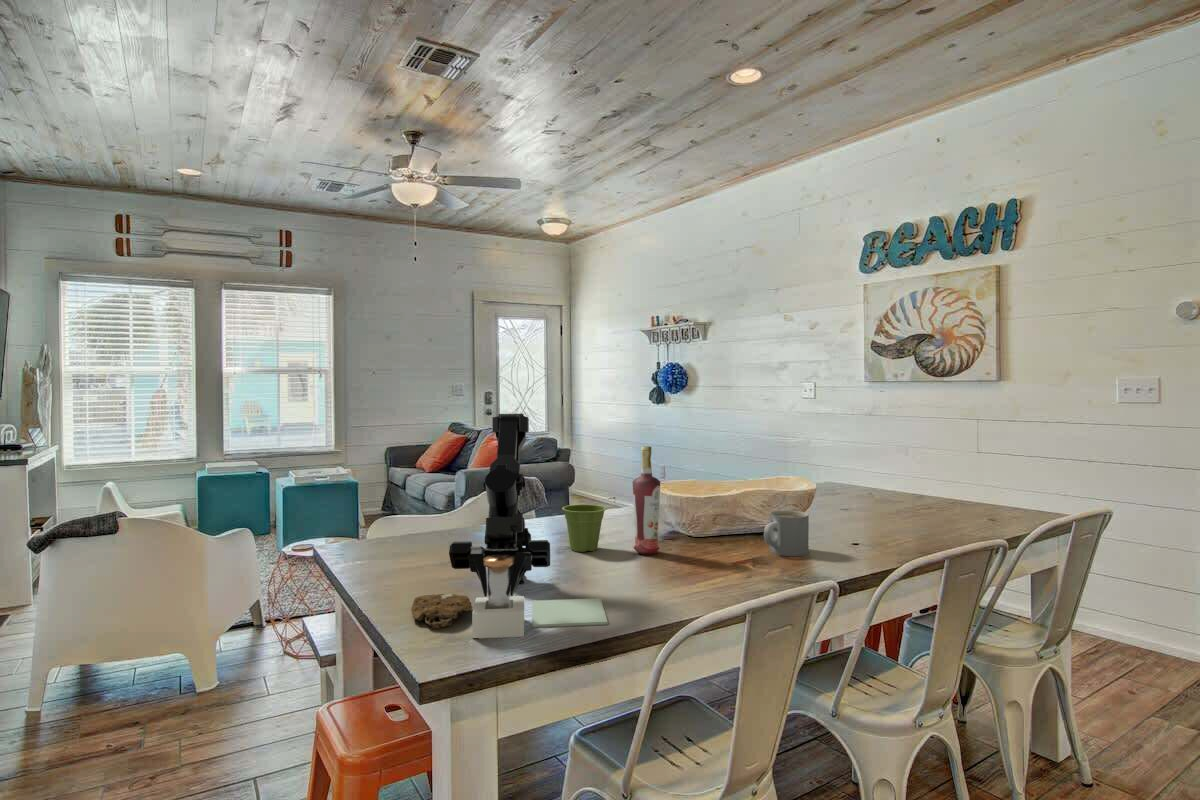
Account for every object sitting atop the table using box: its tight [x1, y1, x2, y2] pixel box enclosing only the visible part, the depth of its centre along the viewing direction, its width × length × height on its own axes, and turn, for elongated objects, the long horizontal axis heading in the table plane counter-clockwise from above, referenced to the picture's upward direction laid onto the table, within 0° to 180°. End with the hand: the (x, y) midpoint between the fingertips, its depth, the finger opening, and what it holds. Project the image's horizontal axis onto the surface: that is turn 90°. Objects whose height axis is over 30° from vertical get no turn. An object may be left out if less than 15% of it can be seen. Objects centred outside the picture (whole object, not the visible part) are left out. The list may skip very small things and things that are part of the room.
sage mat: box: [531, 597, 609, 628], centre depth 135 cm, size 14×14×1 cm
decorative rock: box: [410, 593, 473, 629], centre depth 134 cm, size 11×4×15 cm
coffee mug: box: [763, 509, 810, 557], centre depth 183 cm, size 13×10×10 cm
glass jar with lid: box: [483, 555, 514, 609], centre depth 127 cm, size 6×6×13 cm
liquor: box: [632, 446, 661, 556], centre depth 182 cm, size 7×7×28 cm
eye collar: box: [471, 595, 525, 639], centre depth 127 cm, size 9×9×4 cm
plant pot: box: [561, 503, 607, 553], centre depth 187 cm, size 12×12×11 cm
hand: (498, 595), depth 126 cm, fingers closed on glass jar with lid, 4 cm apart
